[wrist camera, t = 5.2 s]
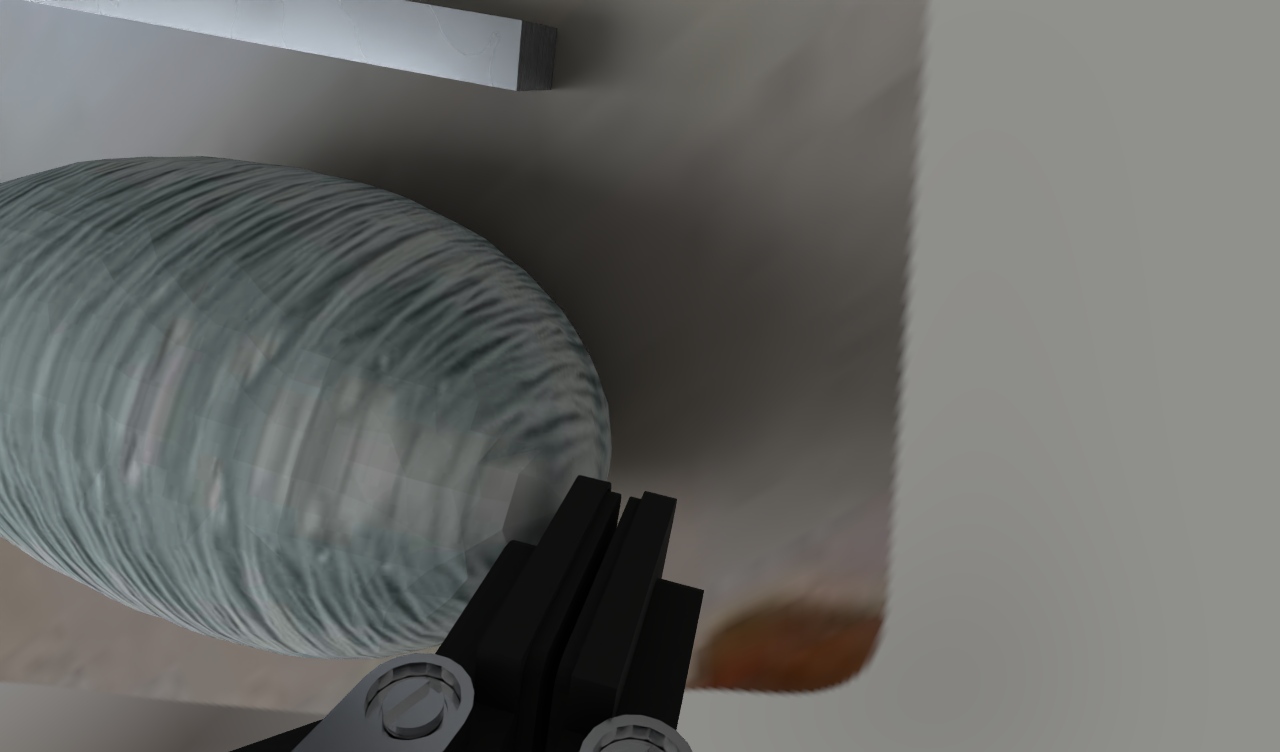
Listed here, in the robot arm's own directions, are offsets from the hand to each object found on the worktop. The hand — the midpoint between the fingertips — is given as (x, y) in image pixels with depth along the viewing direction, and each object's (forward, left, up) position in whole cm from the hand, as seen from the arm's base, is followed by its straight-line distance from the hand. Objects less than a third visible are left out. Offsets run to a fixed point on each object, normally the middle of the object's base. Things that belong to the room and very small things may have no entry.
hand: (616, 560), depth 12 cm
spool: (0, -8, -6) cm, 10 cm away
